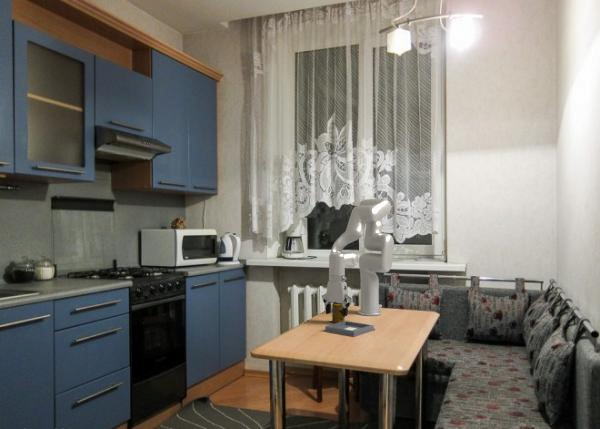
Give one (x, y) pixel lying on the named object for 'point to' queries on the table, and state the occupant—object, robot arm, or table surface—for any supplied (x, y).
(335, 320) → the condiment
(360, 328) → the dock
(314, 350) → the table surface
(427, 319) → the table surface
